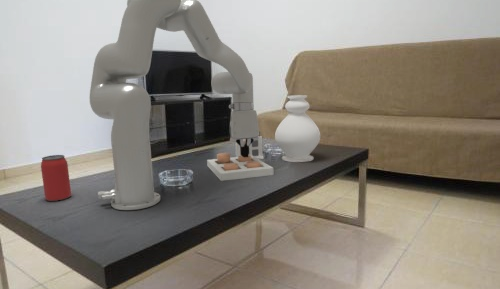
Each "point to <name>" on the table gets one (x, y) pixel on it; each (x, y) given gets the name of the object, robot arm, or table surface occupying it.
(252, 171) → the button board
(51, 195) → the beer can
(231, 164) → the button front left
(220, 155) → the button back left
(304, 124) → the decorative vase
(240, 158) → the button back right
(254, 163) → the button front right
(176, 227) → the table surface
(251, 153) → the pattern card
